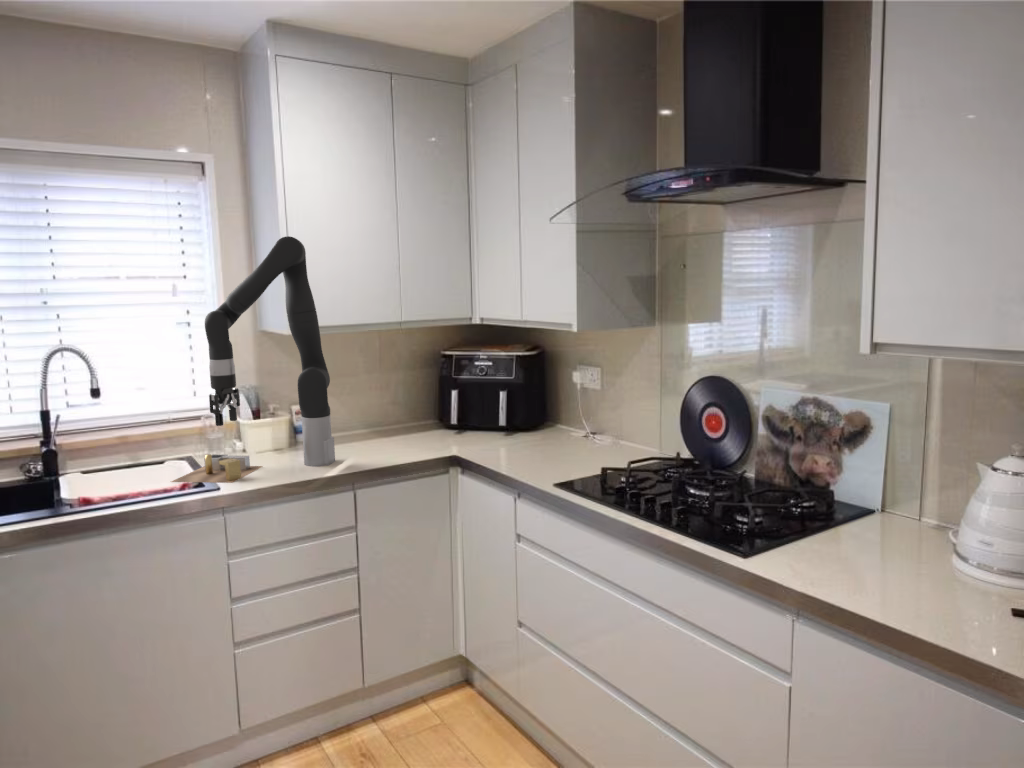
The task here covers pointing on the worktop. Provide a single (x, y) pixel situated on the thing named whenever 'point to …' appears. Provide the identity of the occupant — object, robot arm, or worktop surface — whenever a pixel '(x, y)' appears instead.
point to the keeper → (231, 468)
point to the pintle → (208, 464)
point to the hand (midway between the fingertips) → (226, 423)
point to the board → (212, 475)
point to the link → (216, 458)
